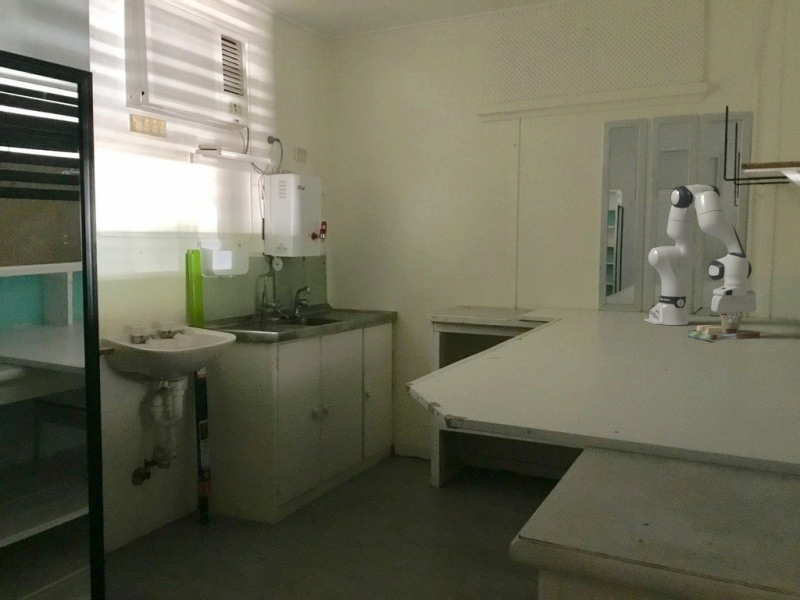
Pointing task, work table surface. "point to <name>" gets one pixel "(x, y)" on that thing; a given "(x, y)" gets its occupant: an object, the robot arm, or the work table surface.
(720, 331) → the beech block
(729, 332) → the channel
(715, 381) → the work table surface
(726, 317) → the flower pot
